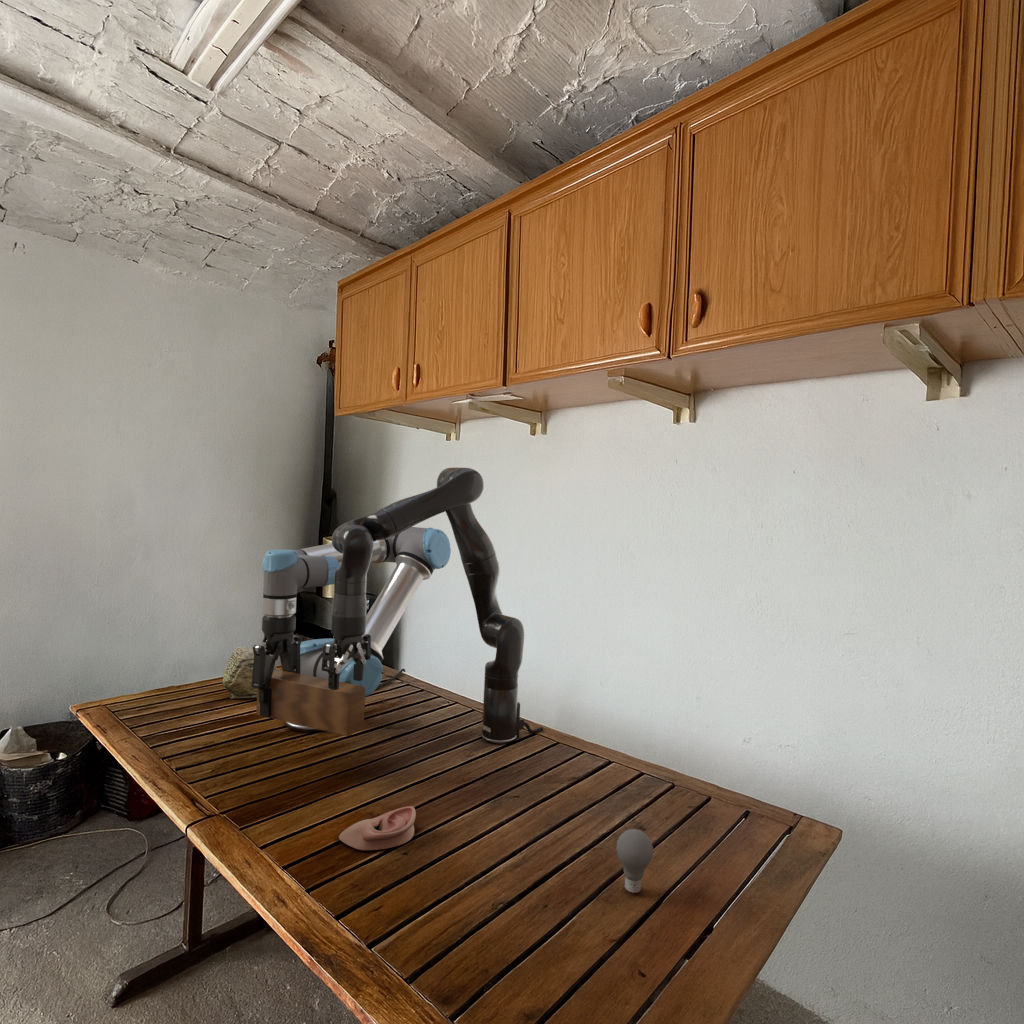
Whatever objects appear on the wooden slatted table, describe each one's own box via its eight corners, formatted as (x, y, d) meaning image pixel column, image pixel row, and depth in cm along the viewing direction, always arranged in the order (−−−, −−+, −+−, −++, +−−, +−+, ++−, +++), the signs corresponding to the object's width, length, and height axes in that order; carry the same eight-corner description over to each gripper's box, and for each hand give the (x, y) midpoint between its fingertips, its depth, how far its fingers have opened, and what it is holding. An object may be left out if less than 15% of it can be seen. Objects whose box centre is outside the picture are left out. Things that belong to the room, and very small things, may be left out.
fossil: (218, 695, 195) (220, 647, 195) (278, 685, 208) (279, 640, 207) (228, 703, 189) (230, 653, 188) (289, 692, 201) (290, 645, 201)
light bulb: (610, 879, 108) (613, 822, 108) (644, 879, 109) (647, 822, 109) (619, 902, 102) (622, 840, 102) (655, 901, 103) (658, 840, 103)
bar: (256, 714, 149) (257, 674, 149) (274, 707, 155) (276, 669, 155) (347, 736, 139) (349, 693, 139) (363, 727, 144) (365, 686, 144)
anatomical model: (331, 824, 115) (359, 795, 126) (330, 845, 115) (358, 815, 126) (400, 835, 112) (422, 805, 124) (399, 857, 112) (421, 825, 124)
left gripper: (260, 623, 140) (257, 726, 141) (318, 611, 158) (315, 703, 158) (235, 619, 143) (232, 720, 144) (295, 607, 161) (292, 698, 161)
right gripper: (342, 619, 134) (338, 695, 134) (381, 610, 147) (378, 679, 147) (314, 615, 137) (311, 690, 137) (355, 607, 150) (352, 675, 150)
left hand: (275, 711), depth 151 cm, fingers closed on bar, 6 cm apart
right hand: (346, 684), depth 142 cm, fingers open, 8 cm apart
